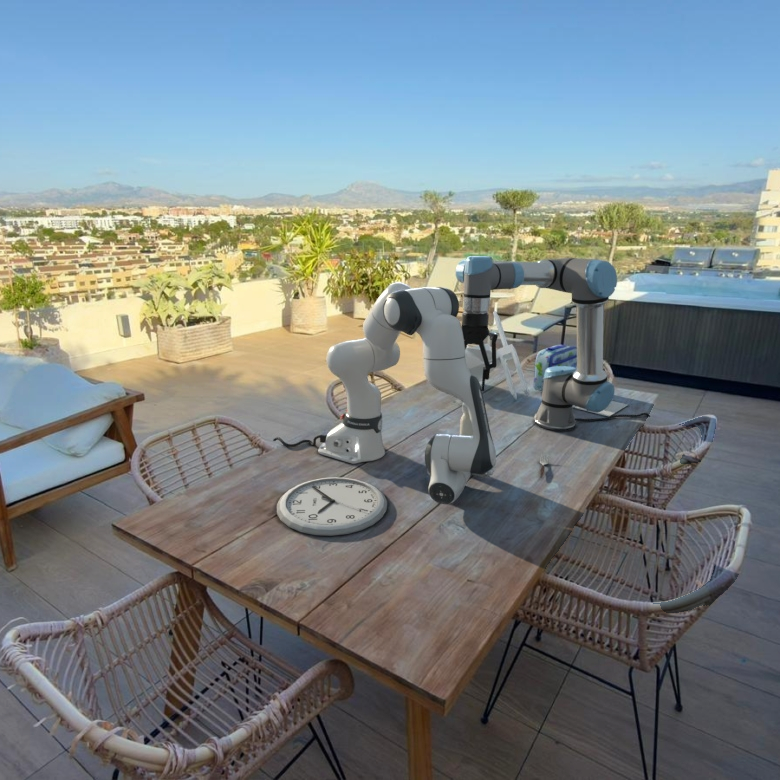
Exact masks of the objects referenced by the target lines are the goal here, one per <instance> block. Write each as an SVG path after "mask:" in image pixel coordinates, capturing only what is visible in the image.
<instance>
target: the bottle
mask: <svg viewBox="0 0 780 780" xmlns="http://www.w3.org/2000/svg"><path fill="white" fill-rule="evenodd" d="M458 435H464V436H473V431H472V426H471V421H470V416H469V413H465V412H463V413H462V415H461V417H460V420H459V434H458Z"/></svg>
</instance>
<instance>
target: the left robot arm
mask: <svg viewBox="0 0 780 780" xmlns="http://www.w3.org/2000/svg"><path fill="white" fill-rule="evenodd" d="M459 311H460V303H459V299H458V296H457V295H456V293H455V292H454V291H453V290H452V289H450V288H447V287H442V286H437V287H431V286H430V287H429V286H423V287H422V286H421V287H416V288H412V287H411V286H410V285H408V284H406V283H403V282H393V283H390V284H389V285H388V286H387V287H386V288H385V289H384V290H383V291H382V292H381V293H380V295H379V296H378V298H376V300H375V302H374V303H373V305H372V307H371V309H370V310H369V312H368V314H367V315H366V317H365V319H364V321H363V323H362V331H363V334H364V336H365V337H363V338H360V339H354V340H353V339H352V340H346V341H341V342H339V343H336V344H334V345H332V346H330V347H329V349H328V350H327V353H326V357H325V358H326V360H325V361H326V365H327V368H328V370H329V371H330V373H331V374H333V375H334V376H335V377H337V378H338V379H339V380H340V381H341V382H342V384H343V387H344V390H345V395H346V410H345V411H344V412H343V413H342V415H340V419H339V420H340V421H341V420H342V421H341V422H340V423H339V424H337V425H335V427H333V428H332V429H330V430H328V429H324V430H323V431H322V432H321V433H320V434H318V435H316V436H315V437H314V438H313V440H311V439H302V440H300V441H298V442H296V443H287V442H285V441H284V440H283V439H282V438H281V437H279V436H276V437H274V438H273V439H272V441H273V442H276V441H279V442H280V443H281V444H282V445H284V446H285V447H288V448H294V447H298V446H299V445H301V444H304V443H309V444H310V445H311V446H312V447H314V446H316V444H317V439H319V442H320V443H321V444H320V446H319V447H318V454H319V455H321V456H324V457H329V458H332V459H335V460H338V461H342V462H346V463H348V464H353V465H355V464H360V463H363V462H372V461H376V460H379V459H381V458H383V457H384V456H385V455H386V450H385V446H384V442H383V434H382V430H383V413H382V392H381V390H380V388H379V387H378V386H377V385H375V384H374V383H371V382H369V376H368V374H370V373H375V372H380V371H385V370H387V369H390V368H392V367H394V366H396V365H397V364H398V363H399V361H400V359H401V349H400V346H399V344H398V342H397V339H398V338H399V336H400V335H401V333H404V334H406V335H408V336H413V335H415V333H416V334H418V335H419V336H420V339H421V342H422V365H423V367H422V368H423V372H424V377H425V379H426V380H427V382H428V383H429V384H430V385H431V386H432V387H433V388H434V389H436V390H438V391H439V392H442V393H444V394H447V395H450V396H452V397H454V398H456V399H458V400H459V401H461V402H462V404H463V403H464V404H465V405H466V406H467V408H468V411H469V416H470V421H471V426H472V431H473V436H464V435H459V434H453V433H451V434H449V433H436V434H434V435H433V436H432V437H431V438H430V439H429V441H428V442H427V444H426V447H425V449H424V463H425V467H426V470H427V475H428V476H430V480H429V484H428V495H429V497H430V498H431V499H432V500H433V502H436V503H438V504H440V505H441V504H442V505H450V504H452V503H454V502H455V501H457V499H458V498H459V497H460V496H461V494H462V493H463V491H464V489H465V486H466V485H467V483H468V482H469V479H470V477H471V476H476V477H483V478H488V477H490V476H493V474H494V473H495V471H496V469H497V468H496V467H497V453H496V452H497V451H496V448H495V444H494V439H493V437H492V433H491V428H490V424H489V418H488V413H487V409H486V404H485V400H484V394H483V391H482V385H481V384H480V382H479V381H478V379H477V378H476V377H475V376H473V375H472V374H471V373H470V371H469V369H468V367H467V364H466V360H465V345H464V337H463V331H462V327H461V326H462V322H461V321H460V320H459V319H458V317H457V316H458V314H459Z"/></svg>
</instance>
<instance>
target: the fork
mask: <svg viewBox="0 0 780 780" xmlns="http://www.w3.org/2000/svg"><path fill="white" fill-rule="evenodd" d="M549 456H550V454H549V453H548V454H547V456H545V455H543V454H541V455H540V459H539V463H540V464H541V467H540V469H539V470H540V472H539V473H540V478H542V477H543V475H544V473H545V465H548V464H549Z"/></svg>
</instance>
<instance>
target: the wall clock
mask: <svg viewBox="0 0 780 780" xmlns="http://www.w3.org/2000/svg"><path fill="white" fill-rule="evenodd" d="M387 509H388V500H387V498H386V496H385V494H384V493H383V492H382V491H381V490H380V489H379V488H377V487H376V486H374V485H372V484H371V483H369V482H365V481H362V480H359V479H355V478H349V477H338V476H337V477H335V476H333V477H332V476H331V477H322V478H317V479H312V480H307V481H305V482H302V483H299V484H297V485H295V486H293V487H292V488H290V489H288V490H287V491H286V492H285V493H284V494H283V495H281V496H280V498H279V499H278V502H277V503H276V515H277V517H278V518H279V520H280V521H281V522H282V523H283V524H285V525H286V526H287V527H288V528H290V529H293V530H295V531H297V532H299V533H303V534H308V535H312V536H327V537H328V536H329V537H331V536H332V537H333V536H342V535H350V534H352V533H356V532H361V531H363V530H366V529H368V528H369V527H372V526H373V525H375V524H376V523H378V522H379V521H380V520H381V519H382V518H383V517H384V516H385V514H386V512H387Z"/></svg>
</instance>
